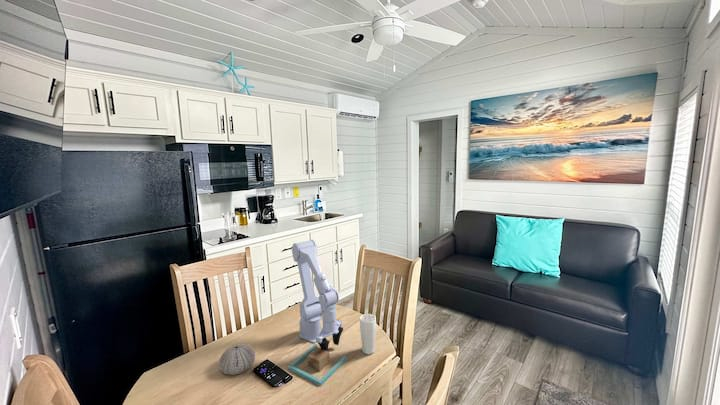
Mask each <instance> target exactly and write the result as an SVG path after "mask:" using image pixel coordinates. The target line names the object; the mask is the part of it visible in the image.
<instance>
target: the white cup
mask: <svg viewBox="0 0 720 405" xmlns="http://www.w3.org/2000/svg"><path fill="white" fill-rule="evenodd" d="M359 331H360V340H361V351H362V353H363V354H366V355H372V354H374V352H375V351H376V335H377V333H376V332H377V317H376V315H374V314H372V313H364V314H362V315H361V316H359Z"/></svg>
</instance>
